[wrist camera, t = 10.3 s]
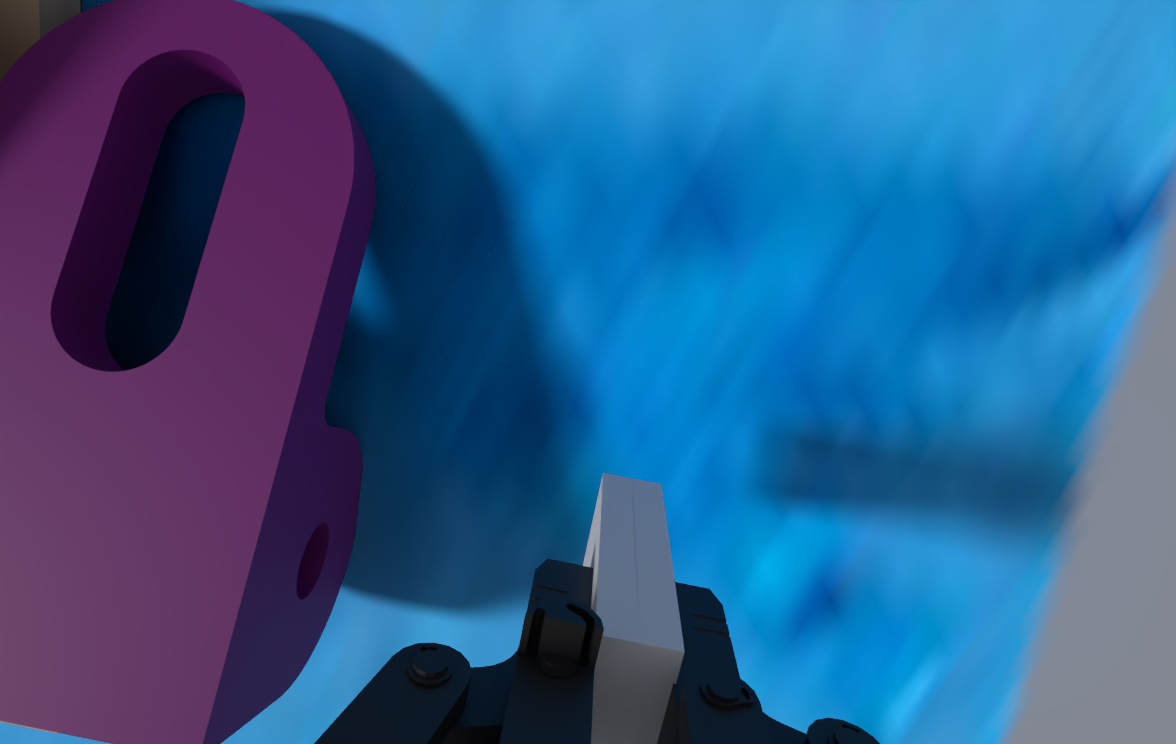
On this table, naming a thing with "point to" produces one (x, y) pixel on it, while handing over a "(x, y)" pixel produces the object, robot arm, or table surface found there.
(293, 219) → the mounting bracket
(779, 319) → the table surface
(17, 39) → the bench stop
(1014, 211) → the table surface
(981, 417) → the table surface
